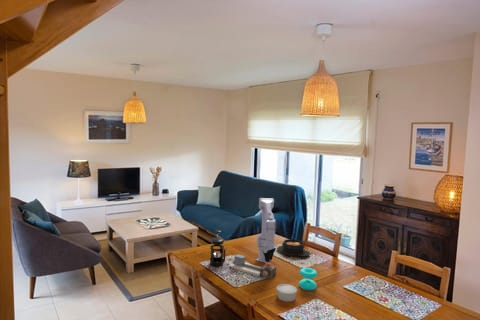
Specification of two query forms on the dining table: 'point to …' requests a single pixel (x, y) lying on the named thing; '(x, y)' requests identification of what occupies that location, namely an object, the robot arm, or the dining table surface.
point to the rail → (247, 268)
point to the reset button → (268, 265)
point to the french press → (217, 258)
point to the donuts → (308, 279)
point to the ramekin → (286, 292)
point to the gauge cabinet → (268, 272)
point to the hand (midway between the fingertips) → (268, 260)
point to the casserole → (293, 248)
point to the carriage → (240, 259)
